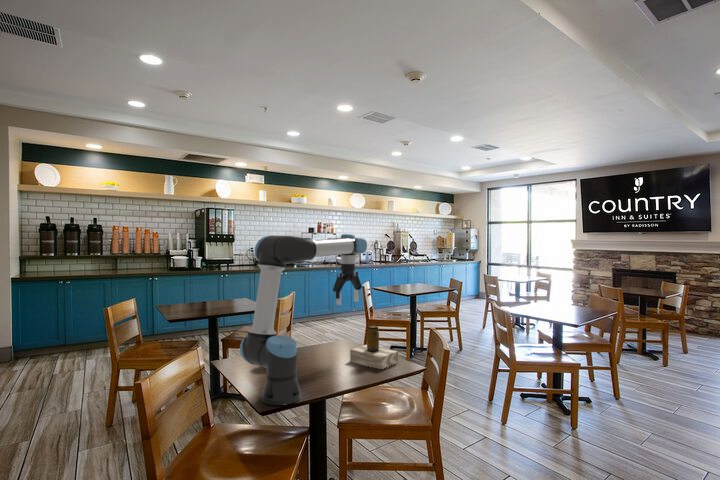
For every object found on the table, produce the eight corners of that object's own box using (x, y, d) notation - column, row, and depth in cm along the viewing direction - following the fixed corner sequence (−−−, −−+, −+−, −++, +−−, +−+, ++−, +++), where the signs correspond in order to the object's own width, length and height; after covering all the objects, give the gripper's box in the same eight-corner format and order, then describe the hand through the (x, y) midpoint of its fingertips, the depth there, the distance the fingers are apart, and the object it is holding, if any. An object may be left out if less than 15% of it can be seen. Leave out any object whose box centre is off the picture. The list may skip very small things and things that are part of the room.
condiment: (373, 347, 202) (373, 324, 201) (384, 351, 195) (384, 327, 195) (363, 349, 197) (363, 326, 197) (373, 353, 190) (374, 329, 190)
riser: (381, 370, 184) (381, 357, 184) (350, 361, 197) (350, 349, 197) (398, 363, 195) (398, 351, 195) (367, 355, 208) (367, 344, 208)
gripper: (358, 261, 216) (357, 299, 216) (326, 264, 197) (325, 305, 197) (368, 262, 211) (368, 301, 211) (336, 264, 192) (336, 307, 192)
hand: (347, 303), depth 204 cm, fingers open, 13 cm apart
